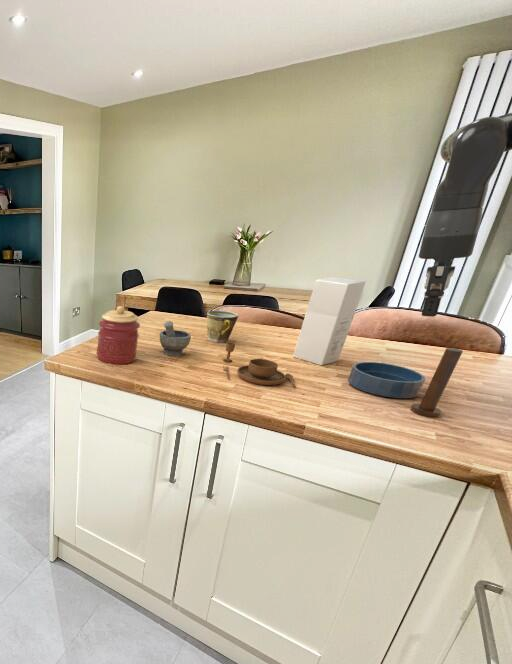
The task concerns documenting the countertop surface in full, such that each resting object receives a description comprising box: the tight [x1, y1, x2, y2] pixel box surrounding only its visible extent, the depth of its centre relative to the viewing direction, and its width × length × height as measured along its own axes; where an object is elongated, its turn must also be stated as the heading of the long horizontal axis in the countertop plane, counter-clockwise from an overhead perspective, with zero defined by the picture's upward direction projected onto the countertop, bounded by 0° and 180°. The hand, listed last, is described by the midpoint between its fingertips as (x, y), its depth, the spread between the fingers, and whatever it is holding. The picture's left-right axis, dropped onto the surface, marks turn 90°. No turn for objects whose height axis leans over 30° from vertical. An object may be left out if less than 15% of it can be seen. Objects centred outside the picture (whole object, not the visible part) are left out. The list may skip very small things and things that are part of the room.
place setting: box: [222, 341, 296, 388], centre depth 118 cm, size 18×20×6 cm
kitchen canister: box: [96, 305, 141, 365], centre depth 131 cm, size 13×13×18 cm
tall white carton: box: [292, 276, 367, 366], centre depth 123 cm, size 9×9×25 cm
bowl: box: [347, 361, 426, 399], centre depth 106 cm, size 14×14×5 cm
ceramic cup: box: [206, 310, 239, 344], centre depth 144 cm, size 13×10×10 cm
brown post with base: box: [410, 347, 464, 418], centre depth 92 cm, size 5×5×16 cm
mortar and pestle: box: [159, 320, 192, 357], centre depth 134 cm, size 11×9×12 cm
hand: (429, 312), depth 86 cm, fingers open, 8 cm apart
